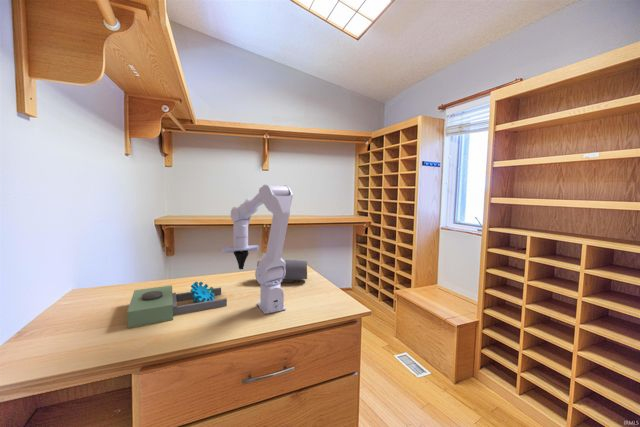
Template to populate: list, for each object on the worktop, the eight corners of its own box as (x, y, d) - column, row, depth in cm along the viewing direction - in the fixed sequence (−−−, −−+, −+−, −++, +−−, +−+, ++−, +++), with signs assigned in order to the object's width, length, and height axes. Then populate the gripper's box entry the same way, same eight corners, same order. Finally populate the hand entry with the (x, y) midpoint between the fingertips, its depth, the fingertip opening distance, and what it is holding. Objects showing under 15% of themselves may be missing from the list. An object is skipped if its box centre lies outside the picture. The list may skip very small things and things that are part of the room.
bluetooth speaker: (306, 278, 132) (307, 257, 131) (307, 284, 123) (307, 262, 122) (259, 277, 130) (259, 257, 130) (256, 284, 121) (256, 262, 120)
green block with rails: (228, 309, 96) (228, 292, 95) (127, 328, 81) (126, 308, 81) (219, 290, 113) (219, 276, 112) (134, 303, 99) (134, 287, 98)
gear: (203, 305, 95) (187, 283, 97) (192, 316, 95) (176, 293, 97) (222, 297, 105) (207, 277, 107) (211, 307, 106) (197, 287, 108)
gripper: (255, 233, 118) (255, 264, 120) (220, 235, 111) (221, 268, 113) (260, 236, 112) (260, 268, 113) (223, 238, 105) (224, 272, 106)
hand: (241, 268), depth 113 cm, fingers closed
